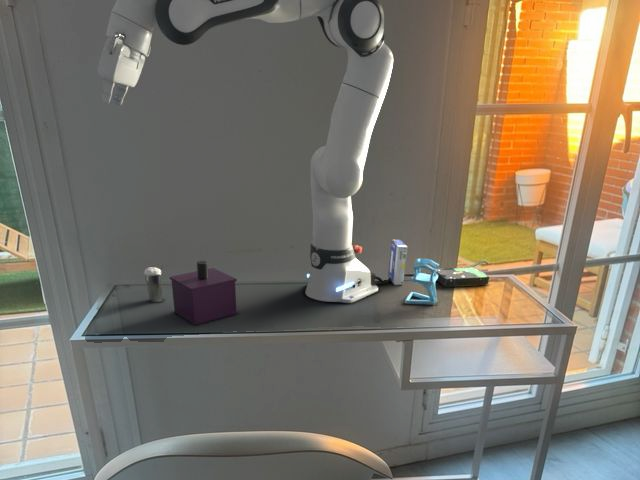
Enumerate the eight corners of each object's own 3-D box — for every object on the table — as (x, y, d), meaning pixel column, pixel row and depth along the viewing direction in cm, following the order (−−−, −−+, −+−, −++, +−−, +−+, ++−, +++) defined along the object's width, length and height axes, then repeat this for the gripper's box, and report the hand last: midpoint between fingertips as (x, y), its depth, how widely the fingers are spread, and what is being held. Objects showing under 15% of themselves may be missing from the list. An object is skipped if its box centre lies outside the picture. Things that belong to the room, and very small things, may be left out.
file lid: (213, 270, 159) (212, 253, 157) (236, 281, 152) (236, 263, 150) (169, 279, 152) (167, 261, 149) (191, 291, 145) (190, 272, 142)
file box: (215, 302, 164) (213, 270, 159) (236, 313, 157) (235, 281, 152) (174, 312, 157) (171, 279, 152) (195, 324, 150) (192, 290, 145)
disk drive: (445, 288, 181) (488, 284, 184) (446, 279, 179) (490, 276, 183) (431, 277, 189) (473, 274, 193) (432, 268, 188) (474, 266, 191)
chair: (433, 307, 166) (439, 265, 159) (404, 303, 168) (409, 261, 162) (438, 299, 172) (444, 258, 165) (410, 294, 174) (415, 254, 168)
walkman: (387, 276, 188) (391, 238, 181) (396, 276, 188) (400, 238, 182) (394, 285, 181) (398, 245, 175) (403, 284, 182) (407, 245, 175)
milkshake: (163, 304, 161) (159, 268, 155) (144, 302, 162) (140, 266, 156) (169, 298, 165) (166, 263, 159) (152, 296, 165) (147, 261, 160)
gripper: (131, 37, 119) (112, 108, 125) (152, 50, 138) (135, 111, 143) (100, 22, 118) (82, 93, 123) (125, 36, 136) (109, 98, 142)
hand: (111, 103), depth 133 cm, fingers open, 8 cm apart
